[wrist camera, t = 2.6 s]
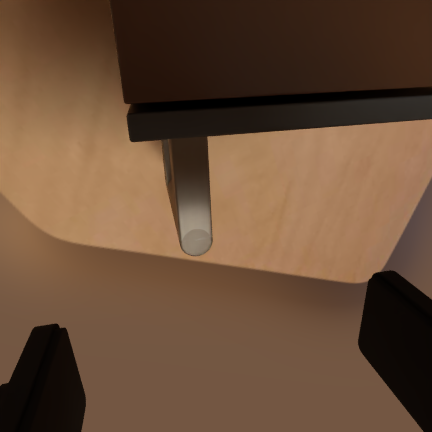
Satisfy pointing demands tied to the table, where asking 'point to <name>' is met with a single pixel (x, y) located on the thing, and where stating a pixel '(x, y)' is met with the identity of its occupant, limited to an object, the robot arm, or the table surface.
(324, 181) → the table surface
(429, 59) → the cabinet
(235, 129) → the door
